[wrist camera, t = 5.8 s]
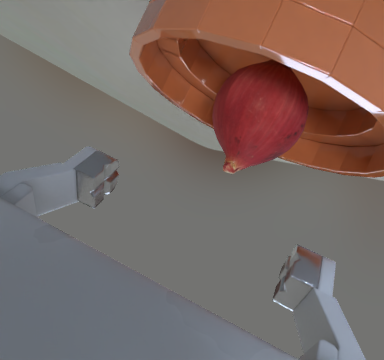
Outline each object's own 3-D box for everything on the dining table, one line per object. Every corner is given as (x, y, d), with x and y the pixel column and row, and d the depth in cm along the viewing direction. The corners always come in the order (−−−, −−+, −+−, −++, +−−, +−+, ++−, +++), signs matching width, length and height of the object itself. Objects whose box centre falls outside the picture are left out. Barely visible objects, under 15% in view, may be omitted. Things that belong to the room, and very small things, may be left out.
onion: (348, 67, 18) (289, 196, 18) (302, 93, 24) (257, 191, 24) (257, 17, 18) (194, 150, 17) (232, 56, 23) (184, 157, 23)
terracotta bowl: (123, -1, 23) (95, 55, 23) (335, -173, 9) (265, -25, 9) (272, 115, 33) (254, 156, 33) (495, 127, 18) (463, 200, 18)
